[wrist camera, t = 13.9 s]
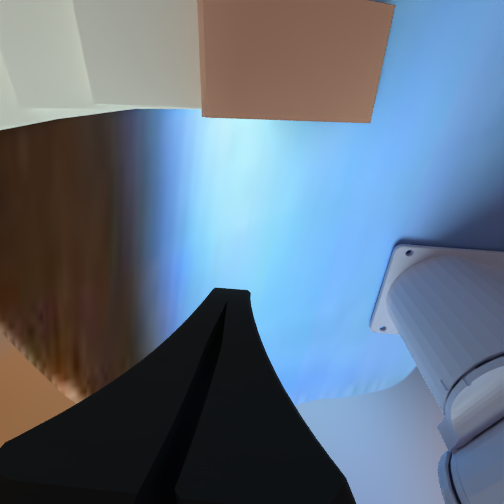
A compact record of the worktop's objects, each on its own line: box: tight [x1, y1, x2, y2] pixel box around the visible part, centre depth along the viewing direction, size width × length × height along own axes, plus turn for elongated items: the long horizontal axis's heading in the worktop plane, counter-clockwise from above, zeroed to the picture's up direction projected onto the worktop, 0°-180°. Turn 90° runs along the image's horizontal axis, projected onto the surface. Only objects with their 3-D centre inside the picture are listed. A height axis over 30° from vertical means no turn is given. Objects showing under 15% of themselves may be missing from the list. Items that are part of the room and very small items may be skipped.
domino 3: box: [0, 0, 202, 109], centre depth 13 cm, size 2×5×9 cm
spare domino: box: [197, 0, 395, 123], centre depth 13 cm, size 2×5×9 cm
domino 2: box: [72, 0, 202, 108], centre depth 13 cm, size 2×5×9 cm
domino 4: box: [0, 51, 129, 126], centre depth 14 cm, size 2×5×9 cm
